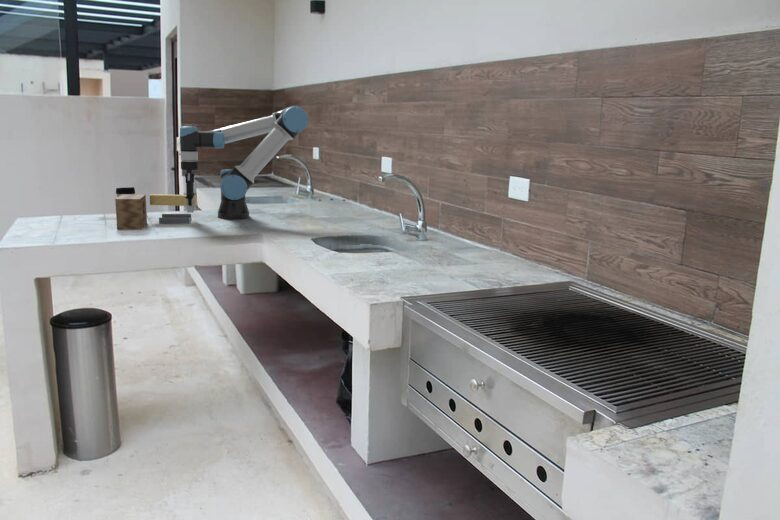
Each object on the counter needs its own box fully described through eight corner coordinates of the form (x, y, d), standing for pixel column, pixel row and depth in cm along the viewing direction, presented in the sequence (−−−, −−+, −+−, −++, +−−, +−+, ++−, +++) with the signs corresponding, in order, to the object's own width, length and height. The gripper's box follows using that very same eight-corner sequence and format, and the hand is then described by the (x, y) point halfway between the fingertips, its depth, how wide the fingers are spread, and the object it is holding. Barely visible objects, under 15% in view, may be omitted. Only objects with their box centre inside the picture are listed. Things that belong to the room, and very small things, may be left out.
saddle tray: (191, 219, 308) (191, 213, 308) (189, 223, 296) (189, 218, 295) (162, 219, 305) (162, 213, 305) (159, 224, 293) (158, 218, 292)
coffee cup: (132, 221, 297) (130, 188, 294) (114, 220, 297) (112, 188, 294) (139, 218, 306) (138, 186, 302) (121, 218, 306) (120, 186, 302)
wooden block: (147, 223, 294) (145, 194, 291) (141, 229, 279) (140, 199, 276) (123, 223, 292) (121, 194, 289) (117, 229, 277) (115, 199, 274)
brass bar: (196, 204, 303) (196, 195, 302) (195, 206, 299) (195, 196, 298) (151, 203, 299) (151, 193, 298) (149, 205, 294) (149, 195, 294)
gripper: (182, 159, 304) (183, 208, 309) (178, 162, 287) (180, 214, 292) (199, 159, 305) (200, 209, 310) (196, 162, 289) (198, 214, 294)
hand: (190, 211), depth 301 cm, fingers closed on brass bar, 4 cm apart
